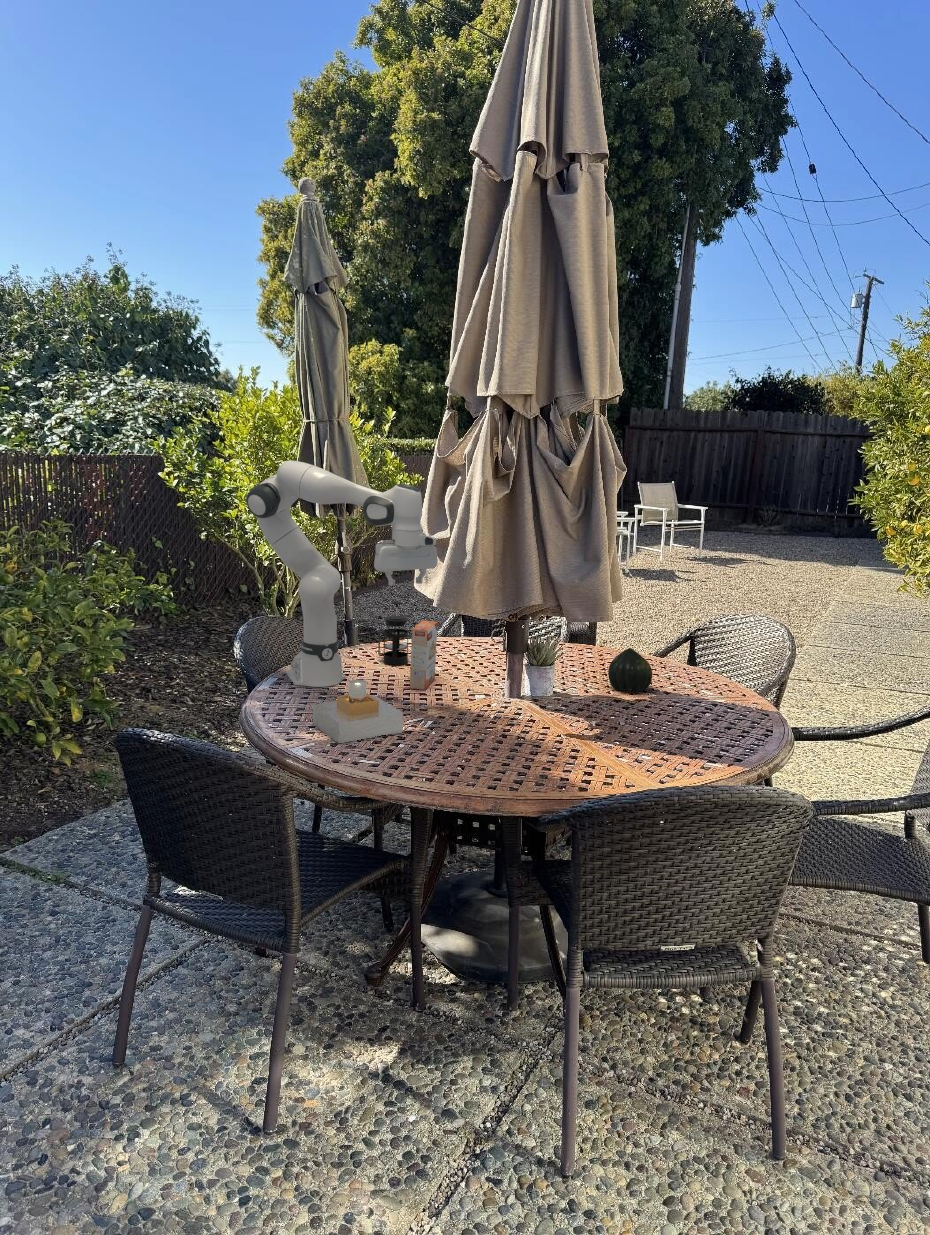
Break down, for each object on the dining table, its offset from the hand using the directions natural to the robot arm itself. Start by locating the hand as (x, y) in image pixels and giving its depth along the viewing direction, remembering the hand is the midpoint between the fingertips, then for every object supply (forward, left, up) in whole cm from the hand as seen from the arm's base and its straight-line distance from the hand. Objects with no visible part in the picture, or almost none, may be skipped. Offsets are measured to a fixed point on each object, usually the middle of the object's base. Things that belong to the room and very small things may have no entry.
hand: (405, 584), depth 263 cm
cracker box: (-18, +18, -39) cm, 47 cm away
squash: (+18, +79, -39) cm, 90 cm away
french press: (-46, +22, -39) cm, 64 cm away
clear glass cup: (+11, -21, -33) cm, 41 cm away
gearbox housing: (+11, -21, -39) cm, 46 cm away
